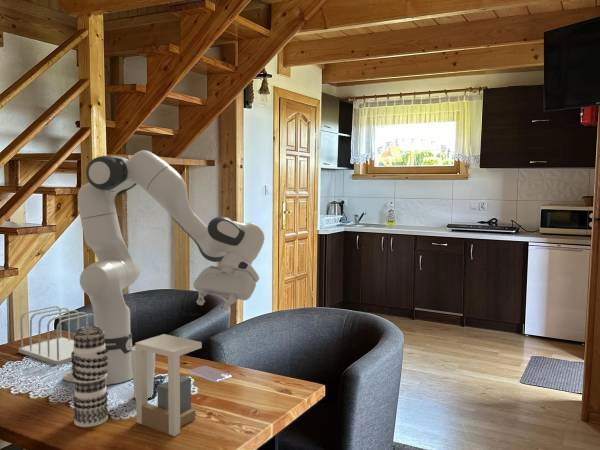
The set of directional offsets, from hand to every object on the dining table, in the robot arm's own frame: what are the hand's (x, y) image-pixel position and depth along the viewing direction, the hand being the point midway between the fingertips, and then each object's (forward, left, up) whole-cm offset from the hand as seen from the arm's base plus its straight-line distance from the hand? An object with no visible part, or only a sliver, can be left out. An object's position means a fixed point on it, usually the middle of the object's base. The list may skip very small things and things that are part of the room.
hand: (211, 306), depth 155 cm
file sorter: (-71, +27, -28) cm, 81 cm away
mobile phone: (-8, +19, -28) cm, 35 cm away
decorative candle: (-26, -21, -28) cm, 43 cm away
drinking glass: (-20, -4, -28) cm, 34 cm away
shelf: (-5, -17, -28) cm, 33 cm away
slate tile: (-4, -16, -27) cm, 32 cm away
